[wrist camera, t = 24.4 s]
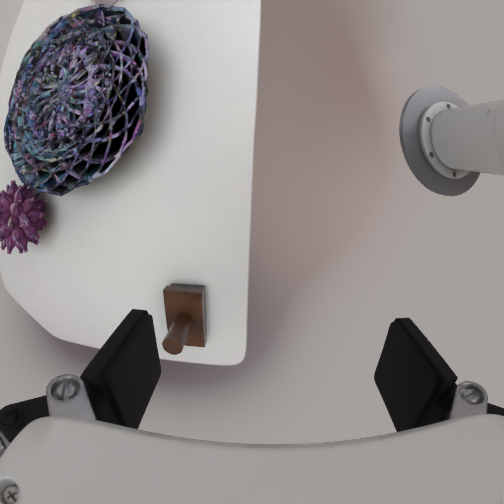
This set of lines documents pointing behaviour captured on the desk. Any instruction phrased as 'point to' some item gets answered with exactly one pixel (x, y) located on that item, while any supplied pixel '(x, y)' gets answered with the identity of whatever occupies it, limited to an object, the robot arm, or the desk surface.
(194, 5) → the desk surface
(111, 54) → the decorative bowl
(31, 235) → the flower
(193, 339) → the stamp
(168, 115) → the desk surface
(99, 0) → the smoothie
